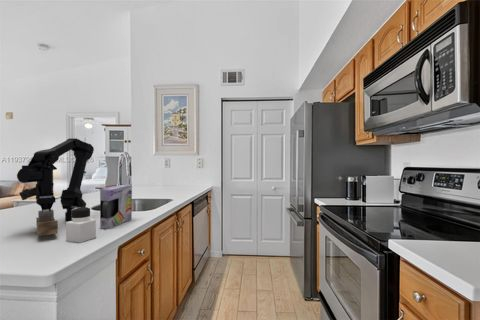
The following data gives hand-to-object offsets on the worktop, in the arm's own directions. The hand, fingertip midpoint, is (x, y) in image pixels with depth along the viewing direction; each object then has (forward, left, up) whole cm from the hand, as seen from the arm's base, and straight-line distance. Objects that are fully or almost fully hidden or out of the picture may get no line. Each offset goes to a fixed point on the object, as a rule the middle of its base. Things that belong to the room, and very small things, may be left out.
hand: (45, 217), depth 116 cm
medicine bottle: (-10, +23, -6) cm, 26 cm away
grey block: (0, +4, -1) cm, 4 cm away
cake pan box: (-27, +7, -6) cm, 28 cm away
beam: (0, +5, -6) cm, 8 cm away
